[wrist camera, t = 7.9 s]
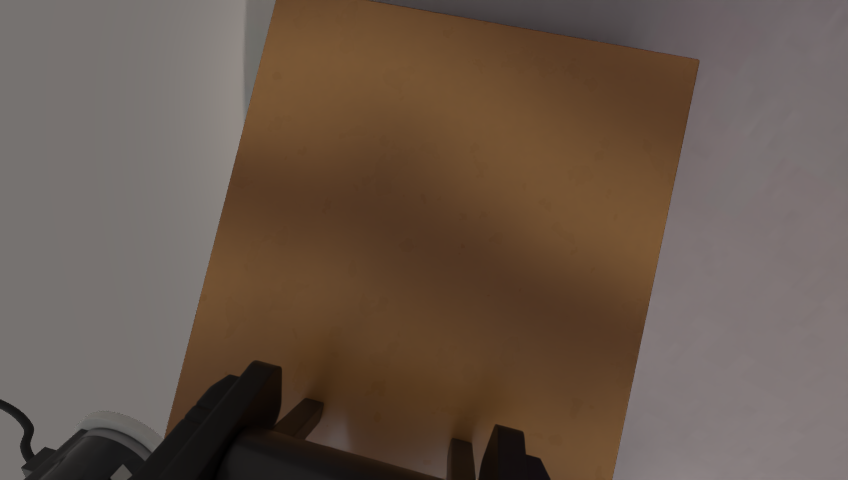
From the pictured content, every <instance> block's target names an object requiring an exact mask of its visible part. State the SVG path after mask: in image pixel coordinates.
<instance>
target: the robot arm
mask: <svg viewBox="0 0 848 480" xmlns="http://www.w3.org/2000/svg"><path fill="white" fill-rule="evenodd" d="M281 404H282V368H281V366H277V365H273V364H269V363H266V362H262V361H258V360H254V361H253V362H251V363H250V364H249V366H248V367H247V368H246V369H245V371H244V372H243V373H242V374H241V376H240V377H239V376H235V375H231V374H229V375H228V376H226V377H224V378H223V379H221V380H220V381H218V382H216V383H215V384H213V385H212V386H210V387H209V389H208V390H207V391H206V392H205V393H204V394H203V395H202V397H201V398H200V399H199V400H198V401H197V403H196V405H195V406H193V407H192V408H191V409H190V410H189V411H188V413H187V414H186V415H185V417H184V419H181V421H180V422H179V423H178V424H177V425H176V426H175V427H174V429H173V430H172V431H171V432H170V433H169V434H168V435H167V437H166V438H165V439H164V440H163V441H162V442H161V443H160V445H159V446H158V447H157V448H156V449H155V450H154V451H153V453H151V451H150V450H149V449H147V448H146V447H145V446H144V445H143V444H141V443H140V442H139V441H137V440H136V439H134V438H132V437H131V436H129V435H127V434H124V433H122V432H120V431H117V430H113V429H109V428H93V429H91V430H85V429H80V430H79V431H77V432H76V433H75V434H74V435H73V436H72V437H71V438H70V439H69V440H68V441H66V442H65V443H64V444H63V445H62V446H61V447H60V448H59V449H57V450H53V449H50V448H47V447H44V448H43V449H42V450H41V451H40V452H39V453H37V454H36V455H34V454H33V452H32V450H31V446H30V442H31V439H32V436H33V433H34V427H33V424H32V423H31V421H30V420H29V419H28V418H27V416H26V415H25V414H24V413H22V412H21V411H20V410H19V409H17V408H16V407H14V406H12V405H11V404H9V403H7V402H5V401H3V400H0V409H2V410H4V411H5V412H7V413H9V414H10V415H12V416H13V417H14V418H15V419H16V420H17V421H18V422H19V423H20V424H21V426H22V427H23V429H24V436H23V438H22V441H21V444H20V449H21V453H22V455H23V458H24V459H25V461H26V462H27V463H26V464H25V465H24V466H22V467H21V469H22V471H23V473H24V475H25V477H26V478H25V479H24V480H214V477H215V474H216V472H217V469H218V467H219V464H220V462H221V460H222V458H223V456H224V454H225V452H226V451H227V449H228V447H229V446H230V444H231V443H232V441H233V440H234V438H235V437H236V436H237V435H238V434H239V433H240V431H242V430H243V429H244V428H245V427H247V426H252V425H253V426H257V427H261V428H264V429H268V430H270V429H271V428H272V427H273V426H274V425H275V423H276V421H277V419H278V416H279V413H280V409H281ZM478 480H551V479H550V477H549V475H548V473H547V471H546V469H545V467H544V465H543V463H542V461H541V458H538V457H534V456H531V455H527V454H526V449H525V436H524V432H523V431H521V430H517V429H514V428H510V427H506V426H502V425H498V424H495V426H494V428H493V431H492V433H491V436H490V439H489V442H488V444H487V447H486V450H485V453H484V455H483V458H482V462H481V466H480V471H479V478H478Z"/></svg>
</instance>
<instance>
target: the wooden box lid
mask: <svg viewBox="0 0 848 480" xmlns="http://www.w3.org/2000/svg"><path fill="white" fill-rule="evenodd" d="M698 66H699V60H698V59H693V58H687V57H682V56H676V55H671V54H665V53H659V52H654V51H648V50H643V49H637V48H631V47H626V46H620V45H615V44H609V43H604V42H598V41H592V40H587V39H581V38H576V37H570V36H565V35H559V34H553V33H548V32H542V31H537V30H531V29H525V28H520V27H514V26H509V25H503V24H498V23H492V22H486V21H481V20H475V19H470V18H464V17H458V16H453V15H447V14H442V13H436V12H431V11H425V10H419V9H414V8H408V7H403V6H397V5H392V4H386V3H380V2H375V1H369V0H276V2H275V6H274V10H273V14H272V18H271V22H270V26H269V30H268V34H267V38H266V42H265V45H264V49H263V53H262V57H261V61H260V65H259V69H258V73H257V77H256V81H255V85H254V88H253V92H252V96H251V100H250V104H249V108H248V112H247V116H246V120H245V124H244V128H243V132H242V135H241V139H240V143H239V147H238V151H237V155H236V159H235V163H234V167H233V171H232V175H231V178H230V182H229V186H228V190H227V194H226V198H225V202H224V206H223V210H222V214H221V218H220V221H219V226H218V230H217V233H216V237H215V241H214V245H213V249H212V253H211V257H210V261H209V265H208V268H207V272H206V276H205V280H204V284H203V288H202V292H201V296H200V300H199V304H198V308H197V311H196V315H195V319H194V324H193V328H192V331H191V335H190V339H189V343H188V347H187V351H186V355H185V359H184V362H183V366H182V370H181V374H180V378H179V382H178V386H177V390H176V394H175V398H174V401H173V405H172V409H171V413H170V417H169V421H168V425H167V429H166V433H165V437H164V439H165V438H166V437H167V435H168V434H169V433H170V432H171V431H172V430H173V429H174V427H175V426H176V425H177V424H178V423H179V422H180V421H181V419H184V417H185V415H186V414H187V413H188V411H189V410H190V409H191V408H192V407H193V406H195V405H196V403H197V401H198V400H199V399H200V398H201V397H202V395H203V394H204V393H205V392H206V391H207V390H208V389H209V387H210V386H212V385H213V384H215V383H216V382H218V381H220V380H221V379H223V378H224V377H226V376H228V375H229V374H231V375H235V376H239V377H240V376H241V374H242V373H243V372H244V371H245V369H246V368H247V367H248V366H249V364H250V363H251V362H253V361H254V360H258V361H262V362H266V363H269V364H273V365H277V366H281V368H282V404H281V409H280V413H279V416H278V419H277V421H276V423H275V425H274V426H273V427H272V428H271V429H270V430H268V429H264V428H261V427H257V426H253V425H252V426H247V427H245V428H244V429H243V430H242V431H240V433H239V434H238V435H237V436H236V437H235V438H234V440H233V441H232V443H231V444H230V446H229V447H228V449H227V451H226V452H225V454H224V456H223V458H222V460H221V462H220V464H219V467H218V469H217V472H216V474H215V477H214V480H478V478H479V471H480V466H481V462H482V458H483V455H484V453H485V450H486V447H487V444H488V442H489V439H490V436H491V433H492V431H493V428H494V426H495V424H498V425H502V426H506V427H510V428H514V429H517V430H521V431H523V432H524V436H525V449H526V454H527V455H531V456H534V457H538V458H541V461H542V463H543V465H544V467H545V469H546V471H547V473H548V475H549V477H550V479H551V480H612V478H613V473H614V468H615V464H616V459H617V454H618V449H619V444H620V440H621V435H622V430H623V425H624V420H625V416H626V411H627V406H628V401H629V397H630V392H631V387H632V382H633V377H634V373H635V368H636V363H637V358H638V353H639V349H640V344H641V339H642V334H643V329H644V325H645V320H646V315H647V310H648V306H649V301H650V296H651V291H652V286H653V282H654V277H655V272H656V267H657V262H658V258H659V253H660V248H661V243H662V238H663V234H664V229H665V224H666V219H667V215H668V210H669V205H670V200H671V195H672V191H673V186H674V181H675V176H676V171H677V167H678V162H679V157H680V152H681V148H682V143H683V138H684V133H685V128H686V124H687V119H688V114H689V109H690V104H691V100H692V95H693V90H694V85H695V80H696V76H697V71H698Z"/></svg>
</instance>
